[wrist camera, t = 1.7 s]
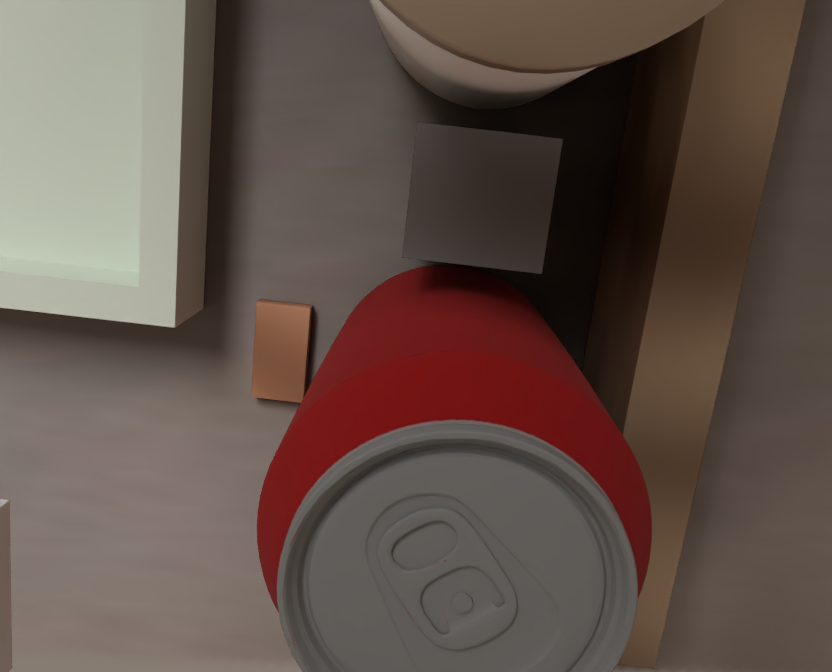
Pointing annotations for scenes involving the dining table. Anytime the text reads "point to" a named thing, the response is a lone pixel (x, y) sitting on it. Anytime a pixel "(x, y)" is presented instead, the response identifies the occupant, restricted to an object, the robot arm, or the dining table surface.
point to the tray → (105, 157)
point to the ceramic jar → (521, 42)
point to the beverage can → (453, 494)
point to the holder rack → (619, 250)
